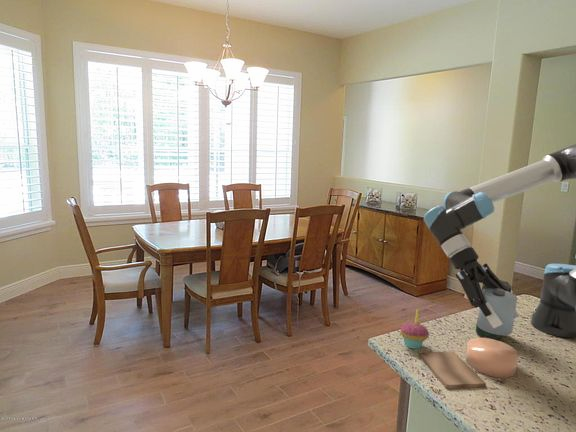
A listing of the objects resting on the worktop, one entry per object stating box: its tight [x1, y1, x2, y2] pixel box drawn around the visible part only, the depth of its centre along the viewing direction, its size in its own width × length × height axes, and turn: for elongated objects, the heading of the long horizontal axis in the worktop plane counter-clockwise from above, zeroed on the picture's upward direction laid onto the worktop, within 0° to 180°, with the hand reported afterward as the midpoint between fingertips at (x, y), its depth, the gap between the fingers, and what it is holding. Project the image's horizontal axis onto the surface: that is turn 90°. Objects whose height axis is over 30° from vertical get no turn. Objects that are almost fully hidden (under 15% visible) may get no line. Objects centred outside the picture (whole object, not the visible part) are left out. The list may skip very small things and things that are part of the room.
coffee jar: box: [475, 279, 512, 340], centre depth 132 cm, size 10×8×19 cm
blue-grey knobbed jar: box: [476, 288, 518, 336], centre depth 112 cm, size 9×9×11 cm
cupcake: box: [399, 307, 430, 350], centre depth 123 cm, size 9×8×12 cm
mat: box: [418, 351, 487, 389], centre depth 111 cm, size 11×16×1 cm
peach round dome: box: [465, 337, 519, 379], centre depth 114 cm, size 13×13×5 cm
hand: (507, 321), depth 110 cm, fingers closed on blue-grey knobbed jar, 9 cm apart
